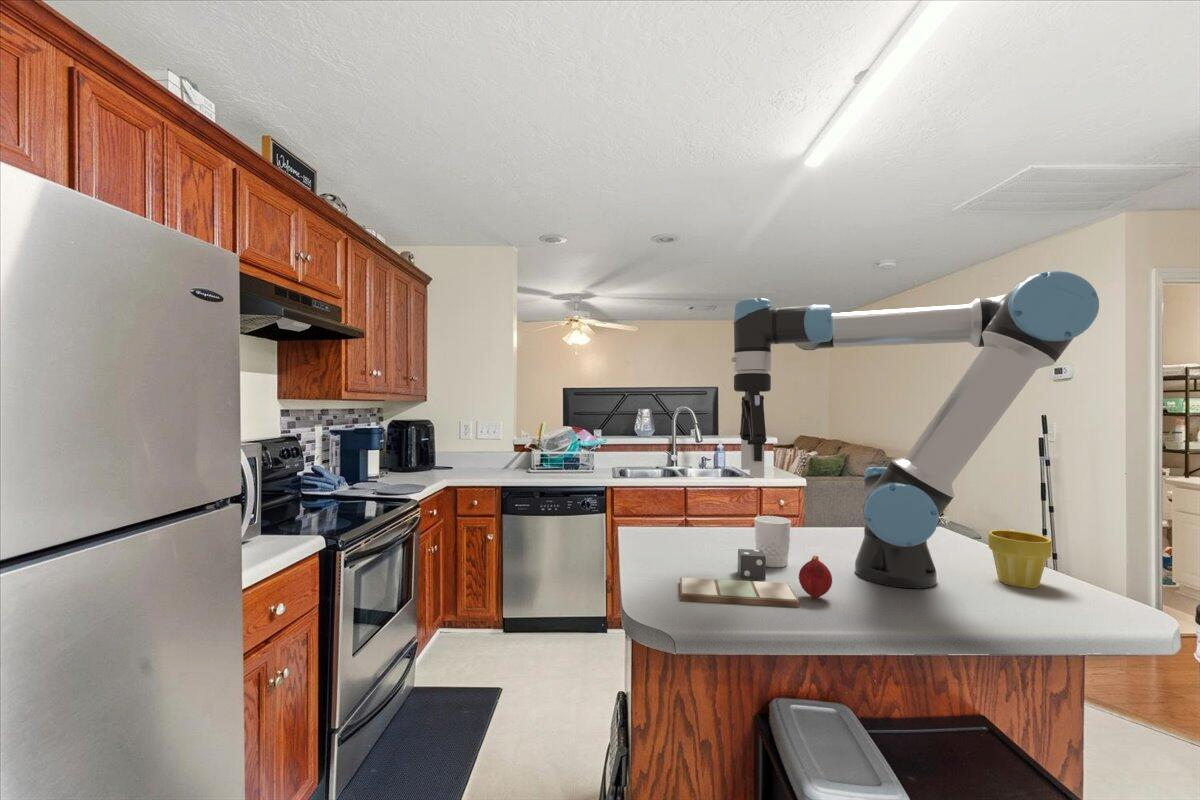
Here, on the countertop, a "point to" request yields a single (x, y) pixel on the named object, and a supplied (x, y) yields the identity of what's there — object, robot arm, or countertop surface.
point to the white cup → (773, 539)
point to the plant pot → (1019, 556)
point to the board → (737, 592)
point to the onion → (815, 578)
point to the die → (751, 564)
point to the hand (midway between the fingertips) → (751, 473)
